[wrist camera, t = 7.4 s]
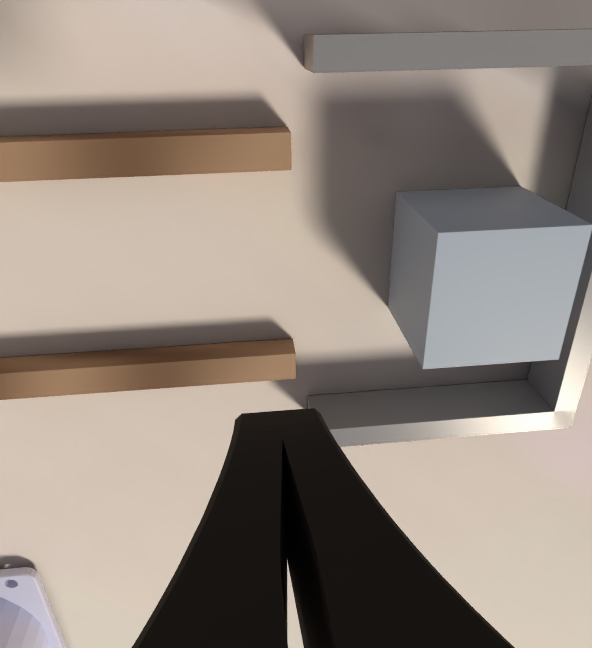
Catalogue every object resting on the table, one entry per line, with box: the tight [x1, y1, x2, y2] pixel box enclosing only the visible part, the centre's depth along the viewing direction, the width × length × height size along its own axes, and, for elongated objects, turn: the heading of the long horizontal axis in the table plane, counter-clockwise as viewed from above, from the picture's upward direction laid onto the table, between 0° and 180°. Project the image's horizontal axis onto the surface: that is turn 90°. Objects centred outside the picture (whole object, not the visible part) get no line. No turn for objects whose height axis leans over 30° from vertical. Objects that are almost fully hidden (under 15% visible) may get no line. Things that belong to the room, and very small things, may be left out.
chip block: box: [388, 186, 592, 369], centre depth 16 cm, size 4×4×4 cm
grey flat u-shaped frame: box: [304, 29, 592, 447], centre depth 17 cm, size 9×13×2 cm
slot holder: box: [0, 127, 296, 400], centre depth 16 cm, size 10×8×1 cm
